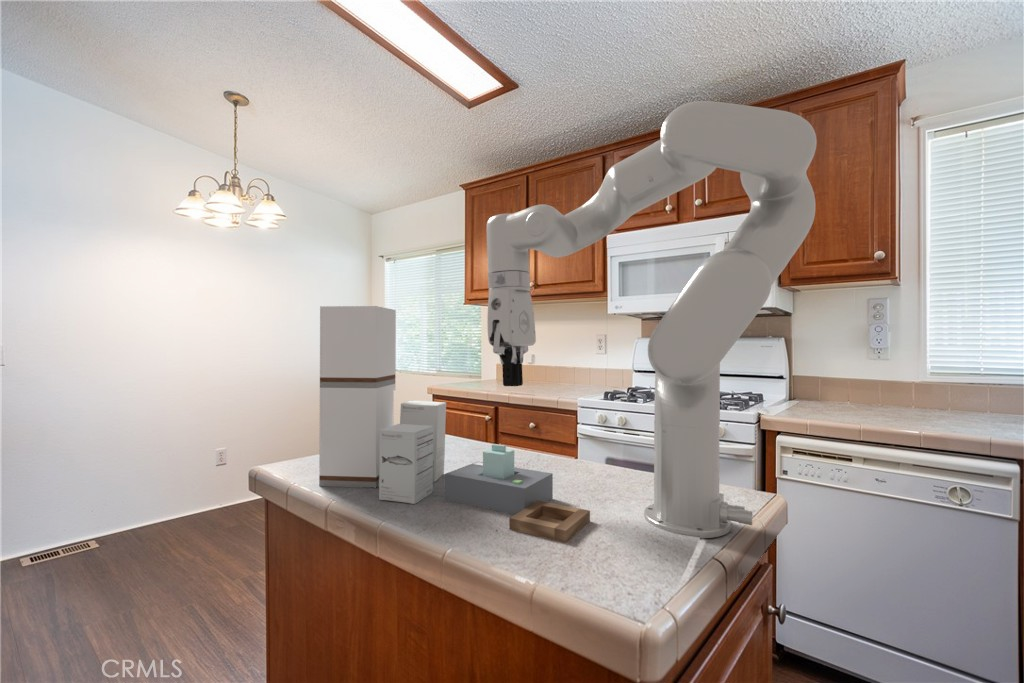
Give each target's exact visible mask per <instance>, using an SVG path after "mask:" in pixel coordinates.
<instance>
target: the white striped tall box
mask: <svg viewBox="0 0 1024 683" xmlns="http://www.w3.org/2000/svg"><path fill="white" fill-rule="evenodd" d="M396 311H397V310H396V309H393V308H388V307H383V306H377V305H372V306H371V305H367V306H366V305H355V306H354V305H352V306H351V305H349V306H347V305H341V306H340V305H338V306H337V305H336V306H335V305H334V306H333V305H331V306H330V305H328V306H327V305H326V306H324V305H323V306H319V450H318V452H319V456H318V457H319V465H318V466H319V470H318V471H319V473H318V474H319V476H318V477H319V478H318V479H319V481H318V482H319V487H333V488H337V487H338V488H362V487H374V488H373V489H376V487H377V486H378V485H379V467H380V430H381V429H384V428H387V427H390V426H393V425H394V401H395V400H394V397H395V396H394V391H396V370H397V369H396V366H397V365H396V359H397V358H396V357H397V356H396V349H397V348H396V339H397V338H396V336H397V333H396V332H397V331H396V328H397V327H396V326H397V325H396V322H397V319H396V318H397V317H396V316H397V312H396ZM378 487H379V486H378ZM378 487H377V488H378Z"/></svg>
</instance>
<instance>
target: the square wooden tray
mask: <svg viewBox="0 0 1024 683" xmlns="http://www.w3.org/2000/svg"><path fill="white" fill-rule="evenodd" d="M590 522H591V510H589V509H583V508H579V507H578V508H577V507H572V506H567V505H563V504H558V503H554V502H549V501H548V502H543V501H536V502H535V503H533V504H531V505H530V506H528V507H527V508H525V509H523V510H522V511H520V512H518V513H517V514H515V515H514V514H513V515H512V516H510V517H509V523H508V524H509V526H508V527H509V530H511V531H515V532H519V533H524V534H528V535H532V536H535V537H536V536H537V537H540V538H544V539H549V540H552V541H553V540H554V541H557V542H561V543H565V544H566V543H567V542H569V541H570V540H571V539H572V538H573V537H574V536H575V535H576V534H578V533H579V532H580V531H581V530H582V529H583V528H585V526H587V525H588V524H589V523H590Z"/></svg>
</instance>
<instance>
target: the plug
mask: <svg viewBox="0 0 1024 683" xmlns="http://www.w3.org/2000/svg"><path fill="white" fill-rule="evenodd" d="M482 462H483V476H486V477H491V478H497V479H502V480H504V479H507V478H509V477H511V476H513V475H514V467H515V449H509V448H507V445H505V444H499V443H498V444H497V443H494V444H492V445H491V448H490V449H487V450H485V451H482Z"/></svg>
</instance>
